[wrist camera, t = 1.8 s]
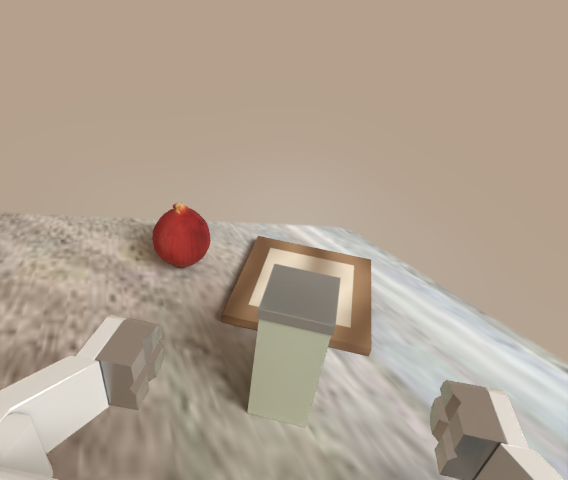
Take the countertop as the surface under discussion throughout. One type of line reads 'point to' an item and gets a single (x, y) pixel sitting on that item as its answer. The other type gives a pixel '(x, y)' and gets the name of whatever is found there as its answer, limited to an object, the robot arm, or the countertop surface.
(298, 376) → the tea tin
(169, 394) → the countertop surface
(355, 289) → the board
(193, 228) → the onion
